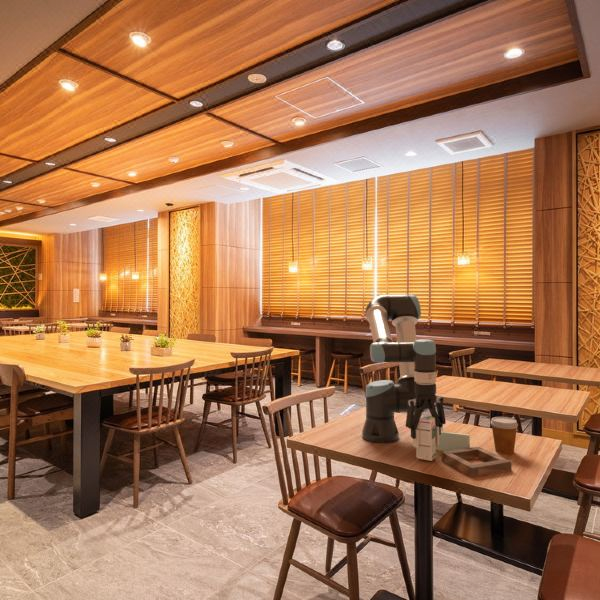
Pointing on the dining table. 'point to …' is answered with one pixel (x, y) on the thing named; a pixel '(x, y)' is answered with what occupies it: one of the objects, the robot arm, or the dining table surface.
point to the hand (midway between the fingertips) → (426, 445)
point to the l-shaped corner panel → (452, 441)
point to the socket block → (489, 467)
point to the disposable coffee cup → (504, 434)
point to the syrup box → (426, 438)
